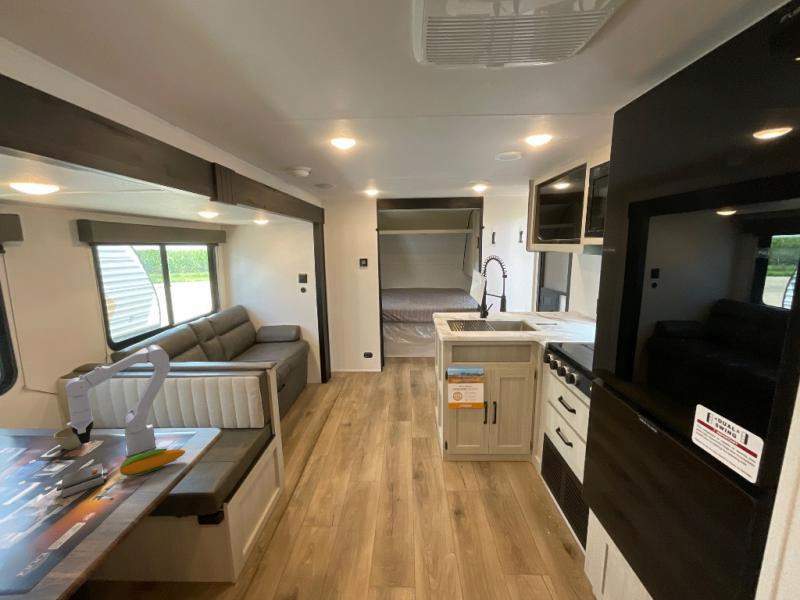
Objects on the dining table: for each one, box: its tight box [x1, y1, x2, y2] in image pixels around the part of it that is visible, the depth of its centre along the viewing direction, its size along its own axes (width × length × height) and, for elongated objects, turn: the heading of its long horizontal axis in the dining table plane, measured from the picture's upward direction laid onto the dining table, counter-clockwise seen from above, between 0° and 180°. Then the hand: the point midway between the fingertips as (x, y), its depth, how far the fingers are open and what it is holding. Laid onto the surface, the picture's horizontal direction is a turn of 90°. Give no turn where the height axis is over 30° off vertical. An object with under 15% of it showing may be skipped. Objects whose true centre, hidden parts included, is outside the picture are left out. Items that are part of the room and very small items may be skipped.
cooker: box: [56, 467, 109, 500], centre depth 113 cm, size 13×8×3 cm, turn 133°
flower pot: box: [53, 426, 83, 451], centre depth 134 cm, size 10×10×7 cm
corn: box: [119, 448, 186, 477], centre depth 122 cm, size 7×8×20 cm
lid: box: [60, 463, 103, 489], centre depth 113 cm, size 10×8×2 cm
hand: (85, 442), depth 122 cm, fingers closed
